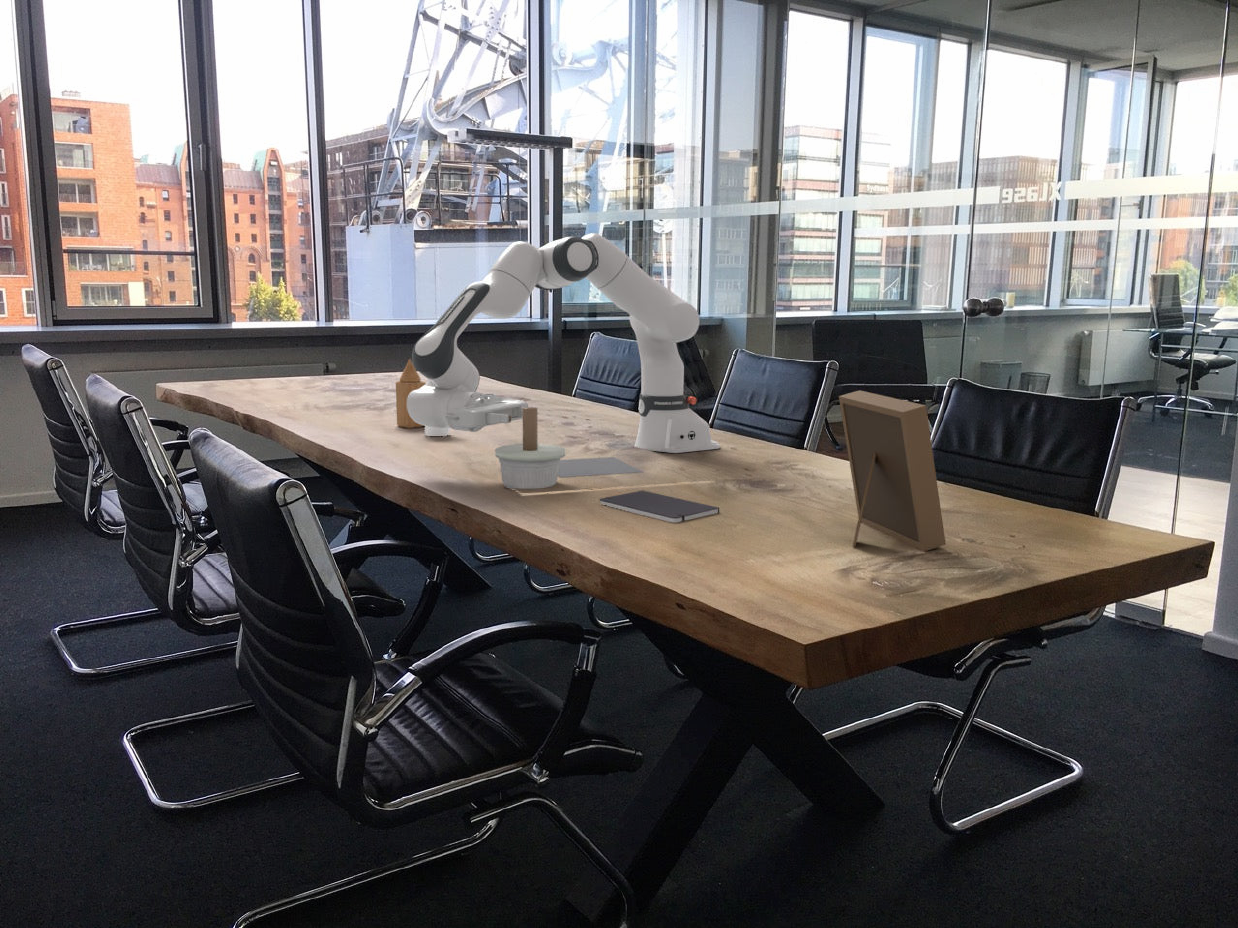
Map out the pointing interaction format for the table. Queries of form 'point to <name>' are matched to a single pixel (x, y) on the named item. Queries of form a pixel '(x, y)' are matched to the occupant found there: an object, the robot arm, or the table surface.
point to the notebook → (659, 506)
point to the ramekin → (529, 473)
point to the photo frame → (893, 468)
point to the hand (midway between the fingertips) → (521, 416)
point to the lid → (530, 443)
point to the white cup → (436, 431)
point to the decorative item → (406, 395)
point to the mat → (594, 467)
